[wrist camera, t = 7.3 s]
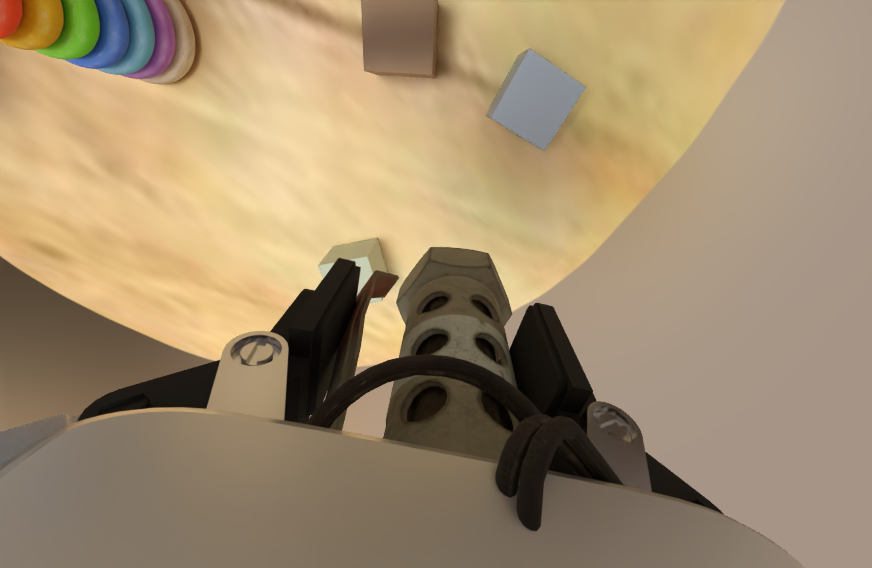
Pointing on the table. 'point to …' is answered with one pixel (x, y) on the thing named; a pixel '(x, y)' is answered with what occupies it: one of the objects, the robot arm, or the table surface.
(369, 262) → the sage cube
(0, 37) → the stacking toy
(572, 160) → the table surface
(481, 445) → the grenade model
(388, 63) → the walnut cube
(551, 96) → the slate blue cube
